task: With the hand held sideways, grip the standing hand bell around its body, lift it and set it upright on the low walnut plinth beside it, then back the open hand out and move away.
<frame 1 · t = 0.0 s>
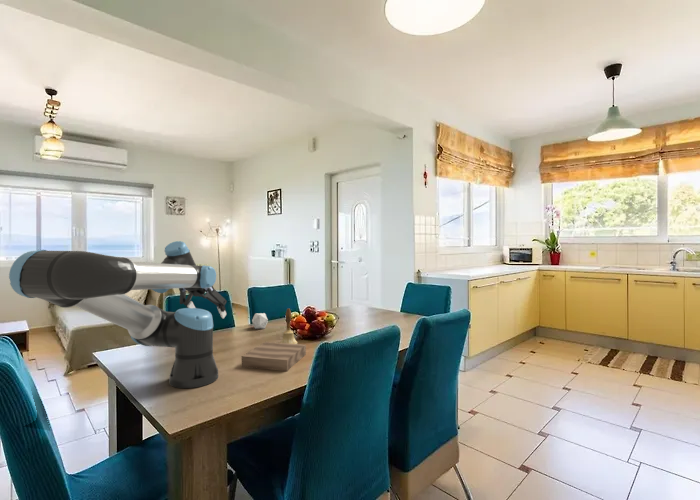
hand: (209, 315, 154), 15 cm above the table, tool tilted 35°, fingers open, 13 cm apart
ice cream bowl: (195, 339, 174), on the table
hand bell: (288, 344, 167), on the table
die: (260, 328, 196), on the table
walnut plinth: (275, 360, 144), on the table
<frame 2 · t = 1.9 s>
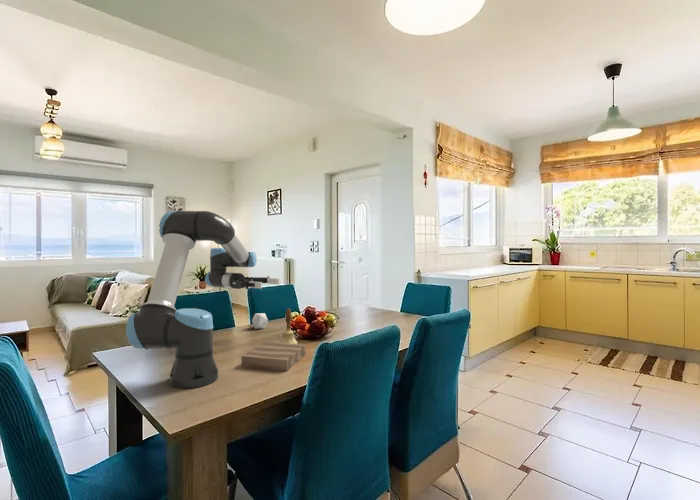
hand: (270, 283, 170), 27 cm above the table, tool horizontal, fingers open, 13 cm apart
nothing on the table moved.
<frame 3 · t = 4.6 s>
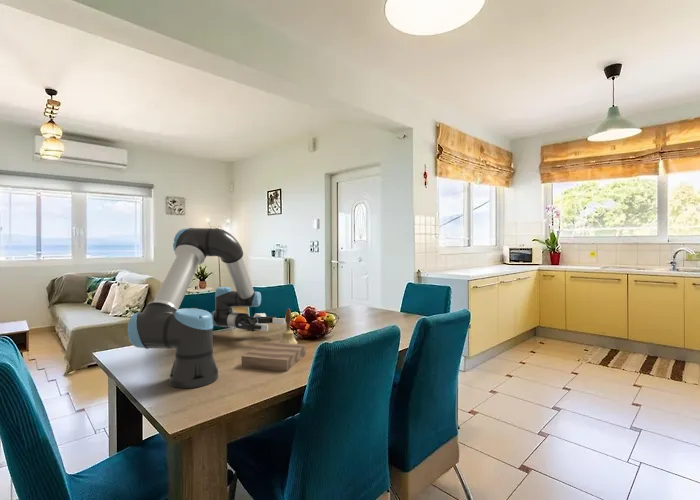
hand: (276, 324, 170), 8 cm above the table, tool horizontal, fingers open, 13 cm apart
nothing on the table moved.
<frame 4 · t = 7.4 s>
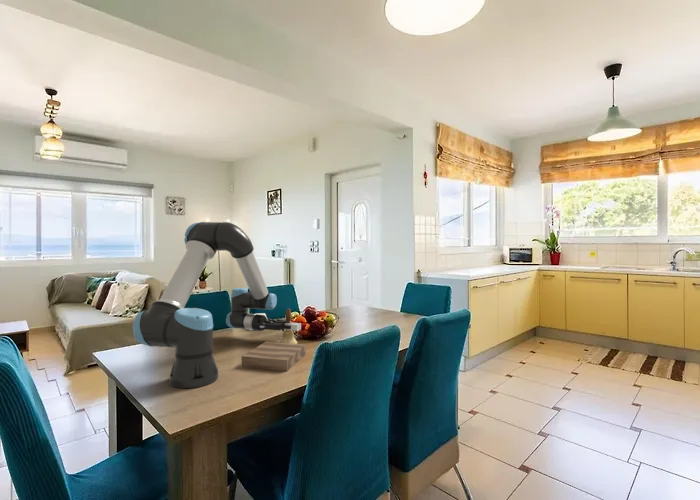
hand: (299, 327, 165), 8 cm above the table, tool horizontal, fingers closed on hand bell, 2 cm apart
hand bell: (288, 344, 167), on the table, touching gripper
everything else where it was.
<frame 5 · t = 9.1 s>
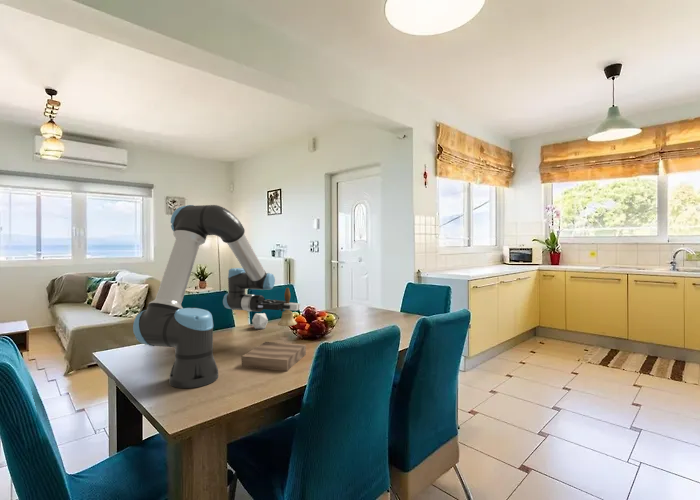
hand: (298, 307, 160), 18 cm above the table, tool horizontal, fingers closed on hand bell, 2 cm apart
hand bell: (287, 324, 162), point 10 cm above the table, touching gripper
everything else where it was.
when the fingers open (14 cm above the table, at t = 11.3 s): hand bell drops 2 cm, resting on walnut plinth.
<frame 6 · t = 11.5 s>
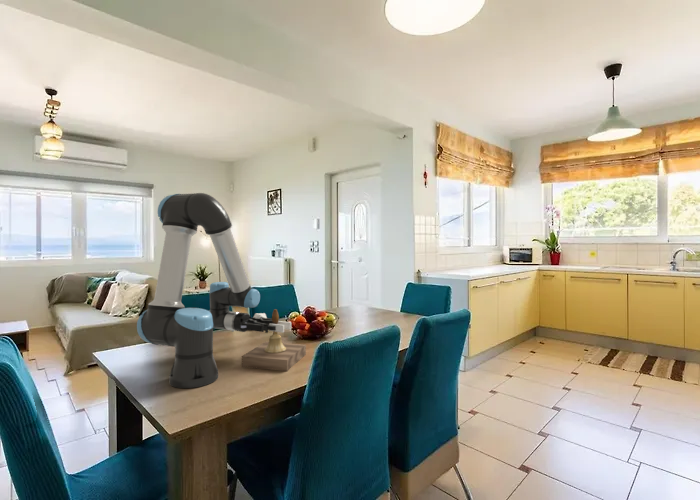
hand: (287, 327, 141), 13 cm above the table, tool horizontal, fingers open, 4 cm apart
hand bell: (275, 350, 144), point 4 cm above the table, touching walnut plinth
everything else where it was.
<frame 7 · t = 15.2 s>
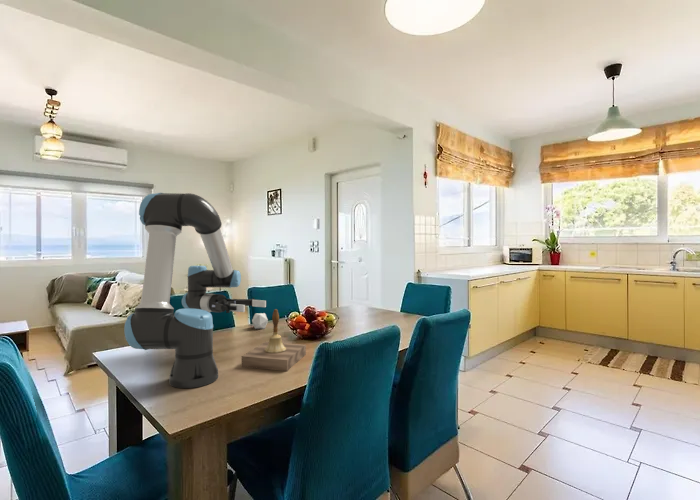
hand: (255, 306, 148), 20 cm above the table, tool horizontal, fingers open, 13 cm apart
nothing on the table moved.
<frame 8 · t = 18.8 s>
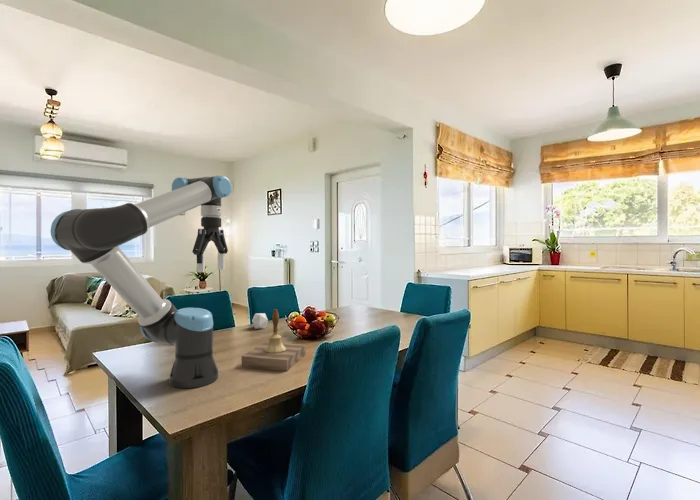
hand: (211, 270, 146), 35 cm above the table, tool pointing down, fingers open, 13 cm apart
nothing on the table moved.
at the end: hand bell inside the target area on the walnut plinth (0.0 cm from its centre), point 3.8 cm above the walnut plinth's base; hand bell tilted 0°; the gripper is holding nothing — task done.
